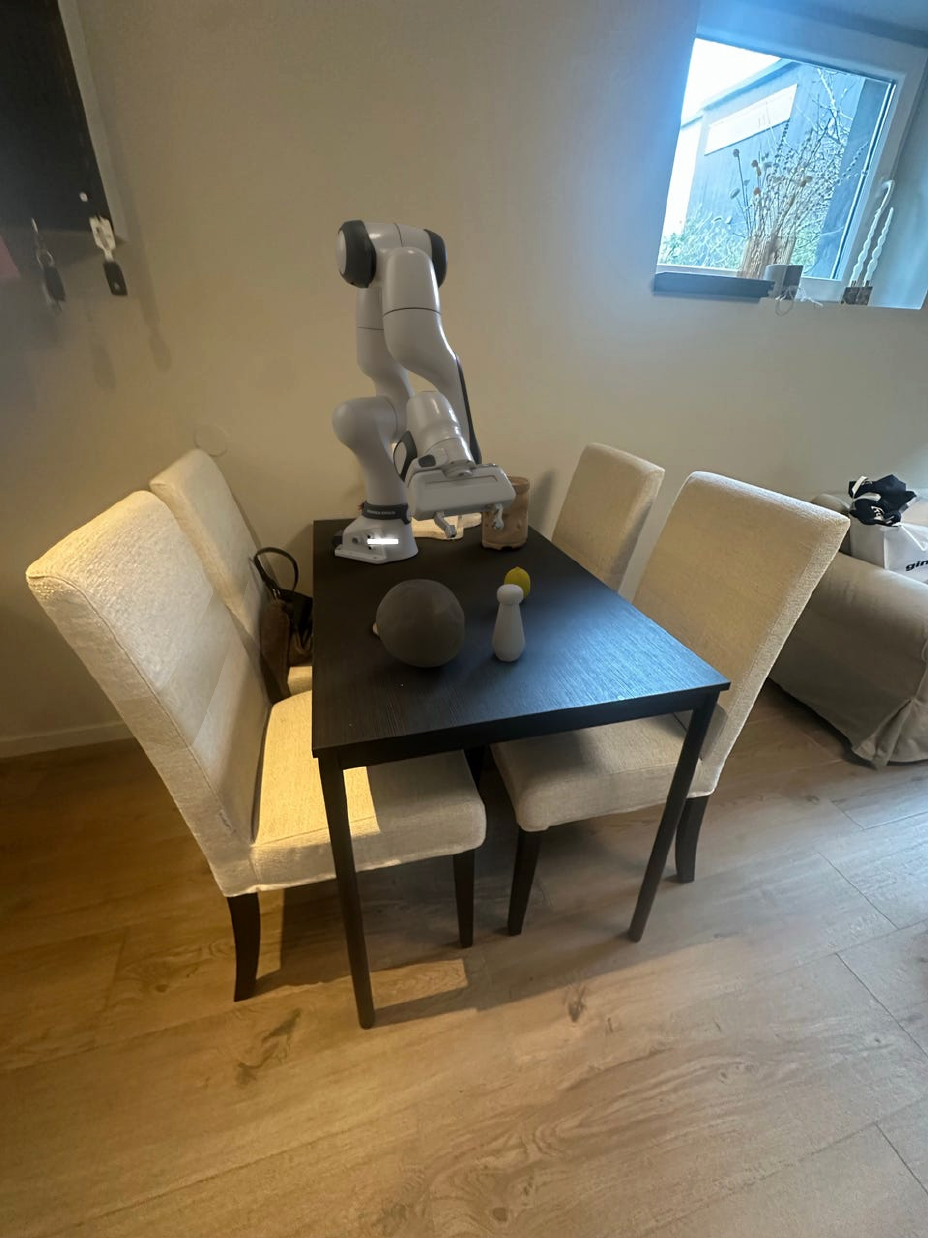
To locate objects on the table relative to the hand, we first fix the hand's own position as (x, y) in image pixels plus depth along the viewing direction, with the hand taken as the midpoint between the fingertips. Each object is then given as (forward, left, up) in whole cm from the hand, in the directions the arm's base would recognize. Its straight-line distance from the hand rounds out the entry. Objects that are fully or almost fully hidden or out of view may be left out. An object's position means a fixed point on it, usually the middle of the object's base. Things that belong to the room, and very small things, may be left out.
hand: (476, 532), depth 88 cm
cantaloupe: (-5, -16, -19) cm, 25 cm away
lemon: (+5, +13, -19) cm, 24 cm away
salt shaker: (+8, -9, -19) cm, 23 cm away
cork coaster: (-15, -5, -19) cm, 24 cm away
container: (-6, +50, -19) cm, 54 cm away
